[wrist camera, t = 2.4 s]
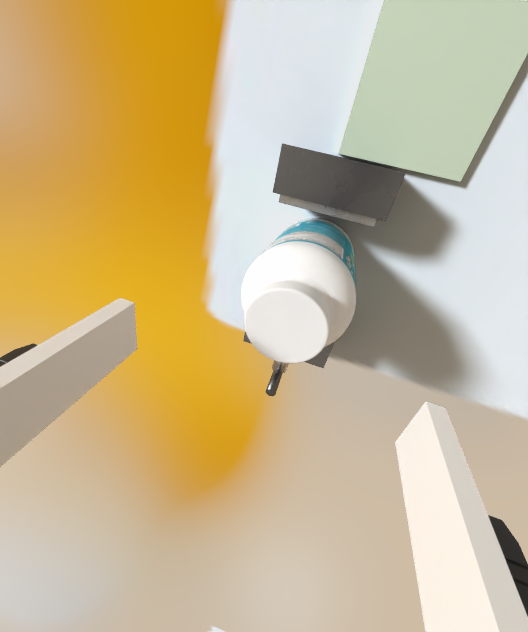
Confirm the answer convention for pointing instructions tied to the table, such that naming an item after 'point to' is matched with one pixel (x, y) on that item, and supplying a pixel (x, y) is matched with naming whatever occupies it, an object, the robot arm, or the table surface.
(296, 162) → the vise
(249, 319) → the pill bottle
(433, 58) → the pad
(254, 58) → the table surface
